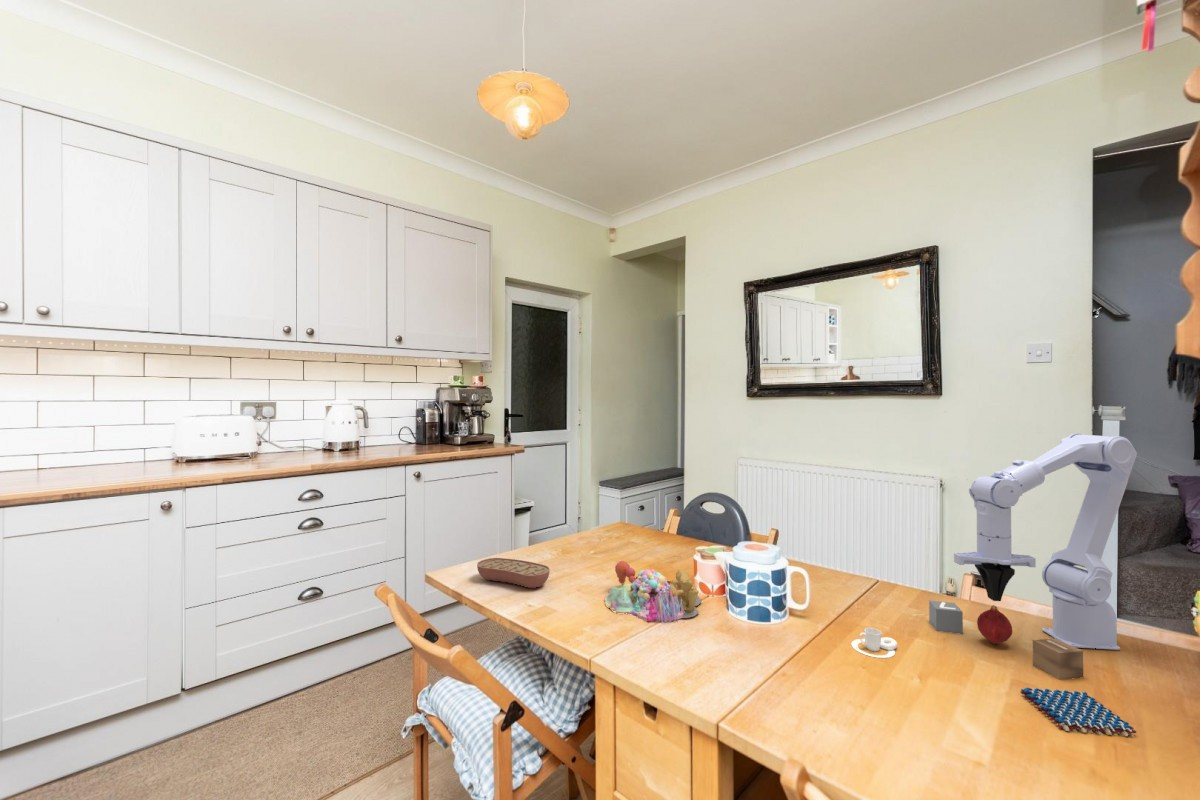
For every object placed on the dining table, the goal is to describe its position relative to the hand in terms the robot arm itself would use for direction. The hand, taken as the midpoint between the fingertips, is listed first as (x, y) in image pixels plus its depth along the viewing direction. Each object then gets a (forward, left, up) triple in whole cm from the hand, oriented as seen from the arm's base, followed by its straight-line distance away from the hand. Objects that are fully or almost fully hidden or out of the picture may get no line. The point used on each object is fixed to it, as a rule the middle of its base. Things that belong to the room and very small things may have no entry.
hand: (994, 599), depth 105 cm
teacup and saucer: (+24, +7, -10) cm, 27 cm away
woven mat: (+2, +24, -10) cm, 26 cm away
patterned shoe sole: (+112, -22, -10) cm, 115 cm away
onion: (0, 0, -10) cm, 10 cm away
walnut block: (-5, +10, -10) cm, 15 cm away
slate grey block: (+6, -7, -10) cm, 13 cm away
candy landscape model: (+72, -13, -10) cm, 74 cm away
